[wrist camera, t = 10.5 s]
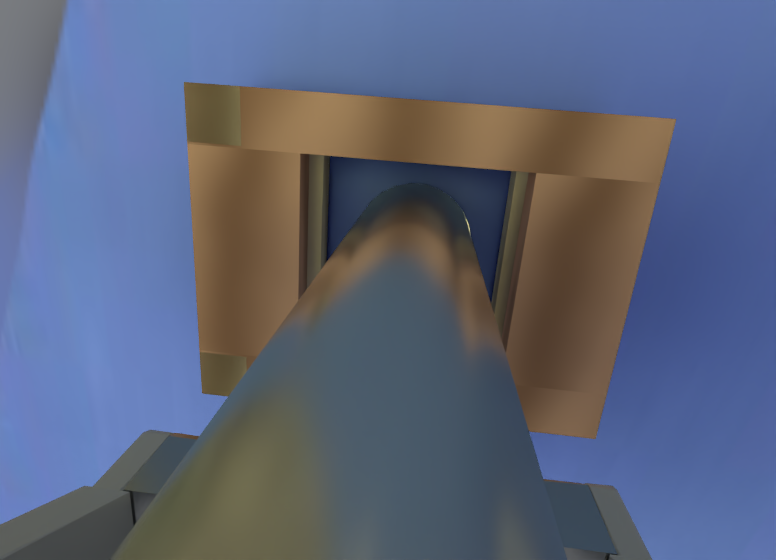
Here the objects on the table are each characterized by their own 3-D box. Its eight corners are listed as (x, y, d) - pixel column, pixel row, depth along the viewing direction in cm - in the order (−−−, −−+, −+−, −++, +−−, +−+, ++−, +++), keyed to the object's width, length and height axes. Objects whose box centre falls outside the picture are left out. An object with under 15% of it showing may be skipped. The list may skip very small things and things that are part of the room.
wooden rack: (607, 119, 27) (676, 119, 19) (556, 361, 31) (595, 439, 24) (252, 92, 28) (183, 82, 20) (256, 329, 33) (202, 393, 25)
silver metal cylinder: (454, 304, 29) (547, 1193, 5) (347, 279, 29) (-52, 1037, 5) (484, 197, 26) (895, 880, 3) (368, 170, 27) (-152, 619, 3)
